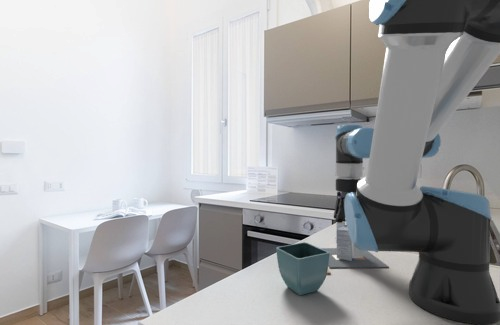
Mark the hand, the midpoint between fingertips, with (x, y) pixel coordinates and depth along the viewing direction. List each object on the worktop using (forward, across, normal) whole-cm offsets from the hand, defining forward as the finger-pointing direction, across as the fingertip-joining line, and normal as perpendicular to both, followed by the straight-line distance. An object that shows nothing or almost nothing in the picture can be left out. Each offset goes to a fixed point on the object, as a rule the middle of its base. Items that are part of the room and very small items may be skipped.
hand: (348, 249), depth 85 cm
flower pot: (+2, -20, +18) cm, 27 cm away
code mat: (+2, 0, 0) cm, 2 cm away
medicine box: (+2, 0, 0) cm, 2 cm away
